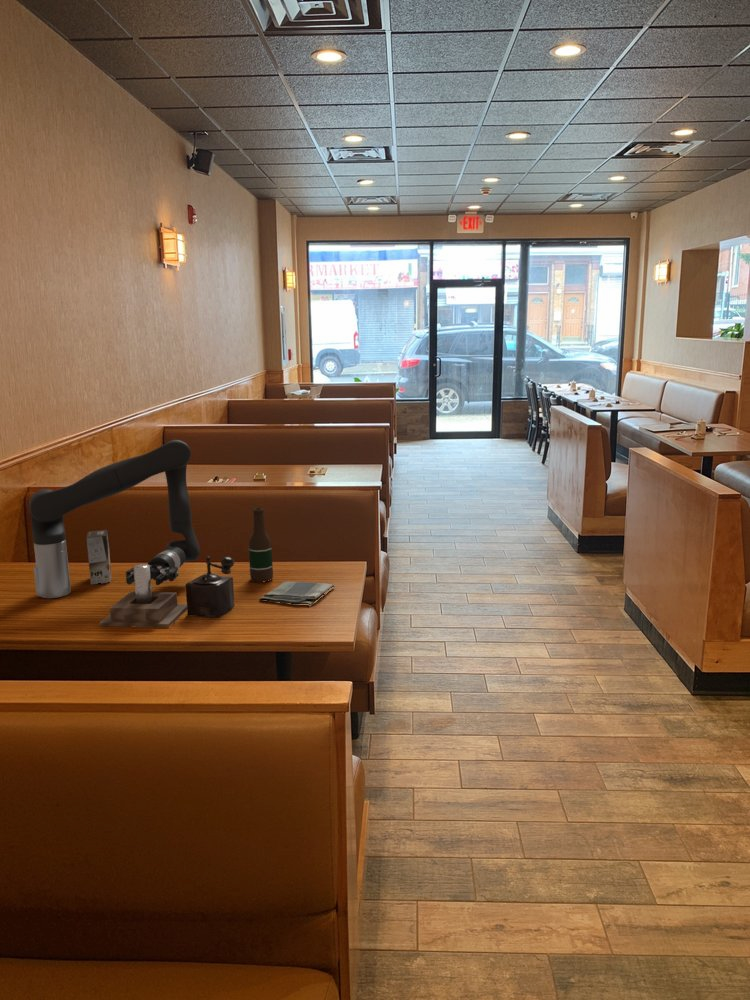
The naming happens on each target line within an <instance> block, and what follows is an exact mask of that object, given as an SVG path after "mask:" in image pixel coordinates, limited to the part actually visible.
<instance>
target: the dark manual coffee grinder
mask: <svg viewBox="0 0 750 1000" xmlns="http://www.w3.org/2000/svg"><path fill="white" fill-rule="evenodd" d="M205 559H206V561H205V564H206V568H207V570H206V571H207V573H204V574H202V575H200V576H197V577H195V578H193V579H192V580H191V581H188V582H187V583H185V596H186V597H185V598H186V604H187V610H186V611H187V615H186V616H192V617H198V618H199V617H200V618H220V617H223V616H224V615H226V614H227V613H229V612H230V611H231V610H232V609H234V608H235V593H234V589H235V588H234V577H232V576H224V575H229V574H231V573H232V570H231V568H232V567H233V566H234V565H235V560H234V558H232V557H231V556H224V557H223V558H221V559H220V564H218V563H217V564H216V563H214V562H212V561H211V559H212V558H211V557H210V556H209V555H208V556H206V557H205ZM211 566H212V567H213V568H217V569H221V571H220V572H221V573H222V574H224V575H223V576H222V575H219V574H216V573H213V572H212V571H211ZM233 607H234V608H233ZM228 611H229V612H228Z"/></svg>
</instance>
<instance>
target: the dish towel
mask: <svg viewBox="0 0 750 1000" xmlns="http://www.w3.org/2000/svg"><path fill="white" fill-rule="evenodd" d="M332 587H334V588H335V585H334V584H331V583H323V582H309V581H308V582H306V581H288V580H287V581H286V580H285V581H284V580H283V582H282V583H280V585H278V586H276V587H275V588H273V589H271V590H270V591H269V592H267V593H264V594H263V596H262V597H260V598H258V601H259V602H262V601H261V600H267V601H269V602H268V603H270V602H280V603H283V604H284V603H291V604H309V605H312V604H313V603H314V602H315V601H316V600H318V599H319V598H320V597H321V596H322V595H324V593H325V592H326V591H327V590H329V589H330V588H332ZM312 606H313V605H312Z"/></svg>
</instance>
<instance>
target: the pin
mask: <svg viewBox="0 0 750 1000" xmlns="http://www.w3.org/2000/svg"><path fill="white" fill-rule="evenodd" d="M133 567H134V580H135V581H134V590H135V591H134V592H136V604H151V603H152V592H153V591H152V579H151V577H150V565H148V563H141V564H136V565H134V566H133Z"/></svg>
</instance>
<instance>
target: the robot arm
mask: <svg viewBox="0 0 750 1000" xmlns="http://www.w3.org/2000/svg"><path fill="white" fill-rule="evenodd" d="M191 456H192V450H191V448H190V446H189V445H188V444H187V443H186V442H184V441H183V440H179V439H172V440H169V441H167V442H166V443H164V444H163V445H161V446H159V447H157V448H155V449H152V450H151V451H148V452H147V453H144V454H141V455H138V456H133V457H130V458H126V459H123V460H120V461H117V462H114V463H111V464H108V465H106V466H103V467H100V468H99V469H96V470H94V471H93V472H91V473H89V474H87V475H85V476H84V477H82V478H81V479H79V480H78V481H76V482H74V483H72V484H69V485H67V486H65V487H62V488H59V489H55V490H53V489H48V488H42V489H39V490H37V491H35V492H34V493H33V494H32V495H31V497H30V499H29V512H30V521H31V531H32V532H31V533H32V538H33V539H32V540H33V548H34V549H33V550H34V556H35V557H34V559H35V566H33V575H34V584H35V593H36V597H40V598H43V599H57V598H61V597H65V596H68V595H69V594H71V592H72V589H71V587H72V585H71V578H70V567H69V560H68V559H69V558H68V551H67V549H68V548H67V541H66V539H67V538H66V528H65V522H64V520H65V519H64V515H66V514H68V513H70V512H72V511H75V510H76V509H78V508H80V507H83V506H86V505H89V504H92V503H95V502H99V501H100V500H104V499H106V498H109V497H111V496H115V495H116V494H117V495H118V494H120V493H122V492H123V491H126V490H128V489H131V488H133V487H135V486H137V485H139V484H141V483H142V482H144V481H145V480H148V479H149V478H151V477H153V476H156V475H159V474H162V473H164V474H165V479H166V485H167V496H168V497H167V498H168V499H167V500H168V516H169V528H170V529H169V530H170V531H171V532H172V533H175V534H180V535H182V536H183V537H184V539H180V540H179V539H177V540H172V541H170V542H168V544H167V545H166V548H165V550H163V551H161V552H159V553H157V554H156V555H155V556H154V557H153V558H151V559H150V560H149V561H148V562H147V564H148V565H150V577H151V580H154V581H155V585H156V586H160V585H161V584H163V583H166V582H168V581H169V582H174V581H175V580H176V579H177V578H178V577H179V568H181V567H182V566H183V565H184V564H185V562H194V561H196V560H197V559H199V556H200V554H201V548H200V544H199V541H198V539H197V536H196V534H195V530H194V526H193V519H192V508H191V502H190V497H189V491H188V485H187V467H188V463H189V462H190V461H191V460H190V459H191ZM125 581H126V582H125V583H126V584H127V585H129V586H130V585H132V584H133V583H135V580H134V566H133V567H131V568H130V569H128V570H126V572H125Z"/></svg>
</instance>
